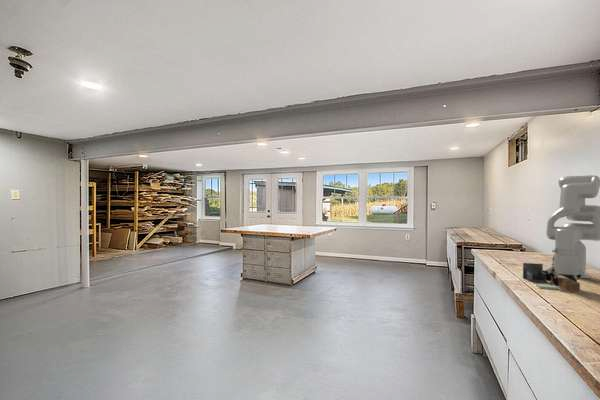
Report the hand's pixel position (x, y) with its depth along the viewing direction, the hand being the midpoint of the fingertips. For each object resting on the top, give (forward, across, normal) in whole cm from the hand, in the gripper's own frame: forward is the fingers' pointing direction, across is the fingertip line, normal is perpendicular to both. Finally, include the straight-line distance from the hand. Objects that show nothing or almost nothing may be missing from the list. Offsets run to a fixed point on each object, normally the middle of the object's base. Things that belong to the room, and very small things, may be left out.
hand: (564, 285), depth 149 cm
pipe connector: (+1, +3, +16) cm, 17 cm away
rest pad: (+1, -9, -4) cm, 10 cm away
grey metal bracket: (+1, -9, +10) cm, 13 cm away
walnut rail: (+1, 0, 0) cm, 1 cm away
